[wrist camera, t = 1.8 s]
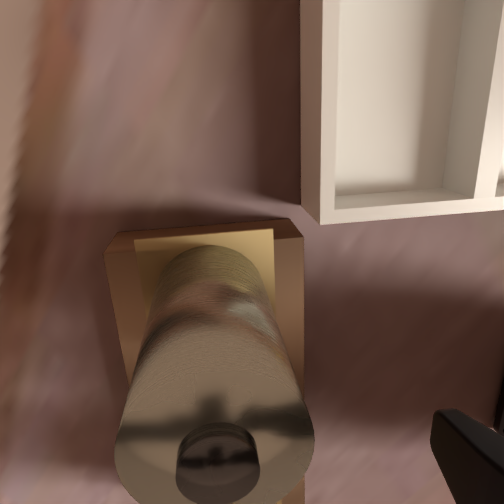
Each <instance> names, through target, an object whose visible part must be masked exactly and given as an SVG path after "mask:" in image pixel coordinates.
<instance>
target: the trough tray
mask: <svg viewBox="0 0 504 504" xmlns="http://www.w3.org/2000/svg"><path fill="white" fill-rule="evenodd" d="M300 86H301V206H302V207H303V208H304V209H305V210H306V211H307V212H308V213H309V214H310V215H311V216H312V217H313V218H314V219H315V220H316V221H317V222H318V223H319V224H320V225H325V224H337V223H349V222H361V221H373V220H385V219H397V218H409V217H422V216H434V215H446V214H458V213H470V212H482V211H494V210H504V0H300Z"/></svg>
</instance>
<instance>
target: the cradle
mask: <svg viewBox="0 0 504 504" xmlns="http://www.w3.org/2000/svg"><path fill="white" fill-rule="evenodd" d="M205 245H215V246H223V247H227V248H230V249H233V250H235V251H237V252H239V253H241V254H243V255H244V256H245V257H247V258H248V259H249V260H250V261H251V262H252V263H253V264H254V265H255V267H256V268H257V270H258V271H259V273H260V275H261V277H262V280H263V283H264V286H265V289H266V292H267V294H268V297H269V300H270V303H271V306H272V309H273V312H274V315H275V318H276V320H277V323H278V326H279V329H280V332H281V335H282V338H283V341H284V343H285V346H286V349H287V352H288V355H289V358H290V361H291V364H292V367H293V369H294V372H295V375H296V378H297V381H298V384H299V387H300V390H301V392H302V395H303V398H304V237H303V235H302V234H301V233H300V231H299V230H298V229H297V228H296V226H295V225H294V224H293V222H292V221H291V220H290V219H277V220H265V221H253V222H240V223H228V224H215V225H203V226H191V227H178V228H166V229H153V230H141V231H128V232H117V234H116V235H115V237H114V238H113V240H112V241H111V243H110V244H109V246H108V247H107V249H106V250H105V252H104V253H103V258H104V263H105V268H106V273H107V279H108V284H109V289H110V294H111V299H112V304H113V309H114V314H115V319H116V324H117V329H118V335H119V340H120V345H121V350H122V355H123V360H124V365H125V370H126V375H127V380H128V385H129V388H130V384H131V380H132V376H133V372H134V368H135V365H136V361H137V357H138V353H139V349H140V345H141V341H142V338H143V334H144V330H145V326H146V322H147V318H148V314H149V311H150V307H151V303H152V299H153V295H154V291H155V287H156V284H157V281H158V278H159V276H160V274H161V272H162V270H163V269H164V268H165V266H166V265H167V264H168V263H169V262H170V261H171V260H172V259H173V258H175V257H176V256H177V255H179V254H181V253H182V252H184V251H186V250H189V249H191V248H195V247H199V246H205ZM276 504H305V483H304V476H303V477H302V479H301V480H300V481H299V482H298V484H297V485H296V486H295V487H294V488H293V489H292V490H291V491H290V492H289V493H288V494H287V495H286V496H285V497H283V498H282V499H281V500H280V501H278V502H277V503H276Z"/></svg>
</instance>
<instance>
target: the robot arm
mask: <svg viewBox="0 0 504 504" xmlns="http://www.w3.org/2000/svg"><path fill="white" fill-rule="evenodd" d="M494 430H495V431H496V432H497V433H496V432H495V431H493V430H491V429H490V428H488V427H486V426H485V425H483V424H481V423H479V422H478V421H476V420H474V419H473V418H471V417H469V416H468V415H466V414H464V413H463V412H461V411H459V410H457V409H454V408H450V409H442V410H437V411H436V412H435V413H434V415H433V422H432V429H431V436H430V445H431V449H432V452H433V454H434V456H435V459H436V461H437V463H438V465H439V467H440V469H441V472H442V474H443V476H444V478H445V480H446V482H447V485H448V487H449V489H450V491H451V493H452V496H453V498H454V500H455V502H456V504H504V380H503V384H502V389H501V393H500V398H499V403H498V407H497V412H496V417H495V421H494Z"/></svg>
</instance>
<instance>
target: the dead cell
mask: <svg viewBox="0 0 504 504" xmlns="http://www.w3.org/2000/svg"><path fill="white" fill-rule="evenodd" d="M314 442H315V439H314V429H313V425H312V421H311V418H310V416H309V413H308V410H307V407H306V404H305V401H304V398H303V395H302V392H301V390H300V387H299V384H298V381H297V378H296V375H295V372H294V369H293V367H292V364H291V361H290V358H289V355H288V352H287V349H286V346H285V343H284V341H283V338H282V335H281V332H280V329H279V326H278V323H277V320H276V318H275V315H274V312H273V309H272V306H271V303H270V300H269V297H268V294H267V292H266V289H265V286H264V283H263V280H262V277H261V275H260V273H259V271H258V270H257V268H256V267H255V265H254V264H253V263H252V262H251V261H250V260H249V259H248V258H247V257H245V256H244V255H243V254H241V253H239V252H237V251H235V250H233V249H230V248H227V247H223V246H215V245H205V246H199V247H195V248H191V249H189V250H186V251H184V252H182V253H181V254H179V255H177V256H176V257H175V258H173V259H172V260H171V261H170V262H169V263H168V264H167V265H166V266H165V268H164V269H163V270H162V272H161V274H160V276H159V278H158V281H157V284H156V287H155V291H154V295H153V299H152V303H151V307H150V311H149V314H148V318H147V322H146V326H145V330H144V334H143V338H142V341H141V345H140V349H139V353H138V357H137V361H136V365H135V368H134V372H133V376H132V380H131V384H130V388H129V392H128V395H127V399H126V403H125V407H124V411H123V415H122V419H121V422H120V426H119V430H118V434H117V438H116V443H115V449H114V460H115V467H116V470H117V473H118V476H119V479H120V480H121V482H122V484H123V486H124V487H125V489H126V490H127V491H128V493H129V494H130V495H131V496H132V497H133V498H134V499H135V500H136V501H137V502H138V503H140V504H275V503H277V502H278V501H280V500H281V499H282V498H283V497H285V496H286V495H287V494H288V493H289V492H290V491H291V490H292V489H293V488H294V487H295V486H296V485H297V484H298V482H299V481H300V480H301V479H302V477H303V476H304V474H305V472H306V471H307V469H308V466H309V464H310V462H311V459H312V455H313V451H314Z"/></svg>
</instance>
